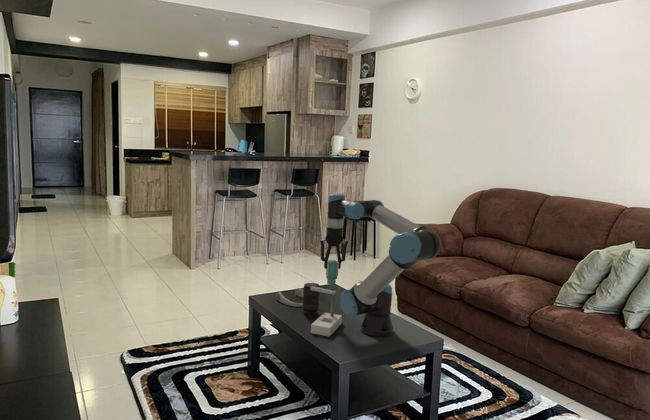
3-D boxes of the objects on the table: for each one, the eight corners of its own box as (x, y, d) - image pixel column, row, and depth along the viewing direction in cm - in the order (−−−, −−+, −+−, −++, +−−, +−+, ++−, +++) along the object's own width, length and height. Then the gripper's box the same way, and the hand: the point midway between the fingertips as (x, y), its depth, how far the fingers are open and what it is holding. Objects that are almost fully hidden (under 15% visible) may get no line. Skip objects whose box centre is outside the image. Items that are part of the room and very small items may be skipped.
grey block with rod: (341, 323, 240) (343, 295, 238) (329, 336, 224) (331, 306, 222) (324, 320, 243) (325, 292, 241) (310, 332, 226) (312, 302, 224)
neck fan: (319, 303, 269) (320, 294, 268) (296, 309, 257) (296, 300, 257) (298, 294, 282) (298, 286, 281) (274, 300, 270) (274, 291, 269)
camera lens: (319, 311, 256) (320, 283, 254) (317, 316, 248) (319, 287, 246) (303, 309, 256) (305, 281, 254) (301, 315, 248) (302, 286, 246)
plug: (335, 281, 240) (337, 259, 239) (337, 284, 235) (339, 262, 234) (325, 281, 240) (326, 259, 238) (326, 284, 234) (328, 261, 233)
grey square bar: (334, 295, 236) (334, 292, 236) (309, 290, 242) (310, 287, 242) (336, 294, 238) (336, 290, 238) (312, 289, 244) (312, 286, 244)
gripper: (350, 225, 239) (347, 273, 242) (315, 224, 236) (312, 273, 239) (354, 228, 232) (351, 277, 235) (318, 227, 228) (315, 277, 232)
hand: (331, 275), depth 237 cm, fingers closed on plug, 4 cm apart
